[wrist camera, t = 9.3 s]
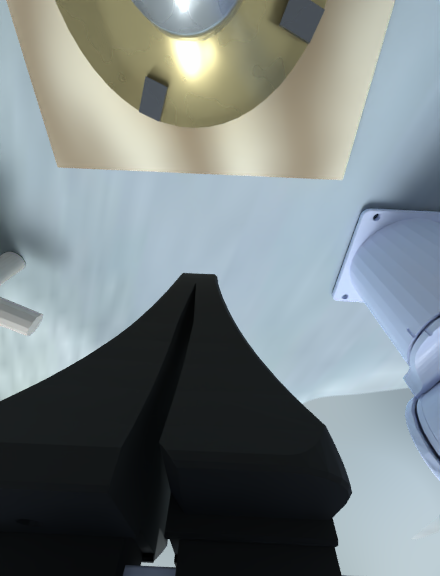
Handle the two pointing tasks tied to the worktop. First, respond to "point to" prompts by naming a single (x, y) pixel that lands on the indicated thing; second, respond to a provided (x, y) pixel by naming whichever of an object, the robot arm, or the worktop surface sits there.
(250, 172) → the beige flat board
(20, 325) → the pipe connector
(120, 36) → the crank handle
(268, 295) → the worktop surface
